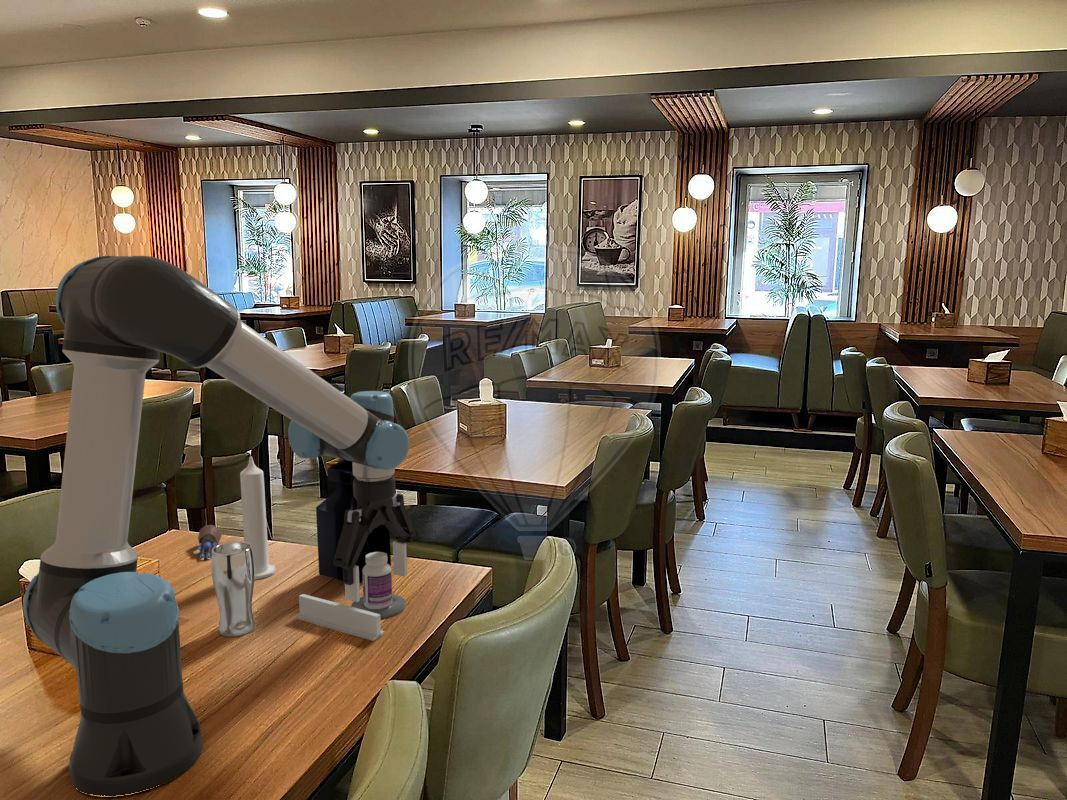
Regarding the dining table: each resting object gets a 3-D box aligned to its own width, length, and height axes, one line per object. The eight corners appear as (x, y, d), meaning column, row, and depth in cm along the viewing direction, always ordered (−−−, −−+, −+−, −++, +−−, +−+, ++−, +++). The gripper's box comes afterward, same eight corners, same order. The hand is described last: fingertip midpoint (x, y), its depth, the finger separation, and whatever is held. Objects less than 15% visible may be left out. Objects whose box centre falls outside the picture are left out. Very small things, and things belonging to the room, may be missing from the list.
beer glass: (243, 640, 133) (238, 556, 130) (207, 636, 134) (201, 553, 132) (265, 622, 139) (261, 542, 137) (230, 618, 141) (225, 539, 138)
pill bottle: (398, 602, 146) (397, 553, 145) (378, 612, 142) (377, 562, 140) (377, 596, 149) (375, 548, 147) (357, 606, 145) (355, 556, 143)
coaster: (382, 623, 139) (382, 620, 139) (339, 611, 144) (339, 608, 143) (416, 602, 148) (416, 599, 147) (375, 592, 152) (375, 589, 152)
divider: (373, 641, 132) (372, 618, 132) (295, 618, 141) (294, 597, 140) (384, 633, 135) (384, 612, 134) (308, 612, 143) (306, 591, 143)
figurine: (219, 566, 171) (223, 540, 182) (218, 545, 169) (222, 520, 180) (192, 569, 169) (198, 543, 180) (190, 548, 168) (196, 522, 178)
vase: (361, 553, 173) (355, 398, 168) (400, 563, 167) (395, 403, 162) (312, 574, 161) (304, 408, 156) (353, 586, 155) (346, 414, 150)
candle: (268, 579, 158) (261, 460, 154) (234, 579, 159) (226, 460, 154) (280, 566, 165) (274, 452, 161) (247, 566, 166) (240, 452, 161)
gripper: (342, 495, 129) (346, 616, 132) (431, 464, 150) (433, 568, 154) (308, 489, 132) (314, 607, 136) (400, 459, 154) (403, 562, 157)
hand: (377, 587), depth 145 cm, fingers open, 13 cm apart
